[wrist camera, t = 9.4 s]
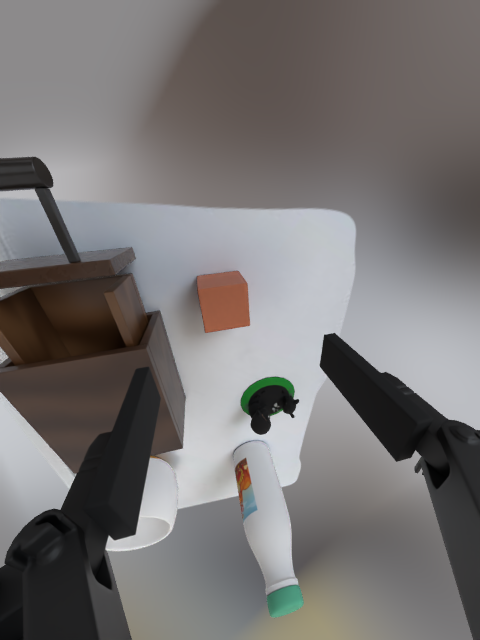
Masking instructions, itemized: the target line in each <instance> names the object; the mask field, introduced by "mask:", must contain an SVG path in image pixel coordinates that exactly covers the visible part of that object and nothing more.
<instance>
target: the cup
mask: <svg viewBox="0 0 480 640" xmlns="http://www.w3.org/2000/svg"><path fill="white" fill-rule="evenodd" d="M177 503H178V483H177V478H176V474H175V472H174V471H173V469H172V468H171V466H170V465H169V464H168V463H167V462H166V461H163V460H161V459H160V458H157V457H155V456H150V460H149V465H148V471H147V476H146V481H145V487H144V492H143V497H142V503H141V508H140V514H139V519H138V524H137V530H136V535H133V536H130V537H126V538H122V539H119V540H115V541H114V540H113V539H112V538H111V537H110V536H108V540H107V544H106V548H105V549H106V550H108V551H128V550H134V549H139V548H144V547H146V546H149V545H152V544H155V543H157V542H159V541H160V540H162V539H164V538H166V537H167V536H168V534H169V533H170V532H171V531H172V529H173V526H174V522H175V518H176V514H177Z"/></svg>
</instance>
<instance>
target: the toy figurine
mask: <svg viewBox="0 0 480 640" xmlns="http://www.w3.org/2000/svg"><path fill="white" fill-rule="evenodd" d="M294 392H295V391H294V387H293V385H292V384H291V382H290V381H288V380H286V379H284V378H279V377H270V378H265V379H262V380H259V381H257V382H256V383H254V384H252V385H251V386H250V387H249V388H248V389H247V390H246V391H245V392H244V394H243V396H242V398H241V406H242V409H243V411H244V412H246V413H247V414H248V415H250V416H251V418H252V420H251V428H252V429H253V431H254V432H255V433H257V434H260V435H262V434H266V433H267V432H268V431H269V429H270V427H271V422H270V416H272V415H274V414H277V413H279V412H280V411H282V410H283V412H284V413H287V414H290V415H291V417H292V418H294V415H293V414H292V413H293V412H294V410H295V408H296V404H298V403H299V399H297V400H294V399H293V397H294Z"/></svg>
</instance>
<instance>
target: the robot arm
mask: <svg viewBox="0 0 480 640" xmlns="http://www.w3.org/2000/svg"><path fill="white" fill-rule="evenodd" d="M320 367H321V369H322V370H323V371H324V372H325V374H326V375H327V376H328V377H329V378H330V380H331V381H332V382H333V383H334V385H335V386H336V387H337V388H338V390H339V391H340V392H341V393H342V395H343V396H344V397H345V398H346V399H347V401H348V402H349V403H350V405H351V406H352V407H353V408H354V410H355V411H356V412H357V413H358V415H359V416H360V417H361V418H362V420H363V421H364V422H365V423H366V424H367V426H368V427H369V428H370V429H371V431H372V432H373V433H374V434H375V436H376V437H377V438H378V439H379V441H380V442H381V443H382V444H383V446H384V447H385V448H386V449H387V451H388V452H389V453H390V454H391V455H392V457H393V458H394V459H395V461H396V462H397V461H401V460H404V459H408V458H411V457H412V455H413V453H414V451H415V450H416V451H417V452H418V453H419V454H420V455H421V456H422V457H421V458H420V460H419V461H418V463H417V464H416V466H415V473H418V472H419V471H420V469H421V468H422V470H423V473H422V475H424V477H425V480H426V483H427V487H428V490H429V493H430V497H431V500H432V503H433V507H434V510H435V513H436V517H437V520H438V523H439V527H440V530H441V533H442V537H443V540H444V543H445V547H446V550H447V554H448V557H449V560H450V564H451V567H452V570H453V574H454V577H455V580H456V583H457V587H458V590H459V594H460V597H461V600H462V604H463V607H464V610H465V614H466V617H467V620H468V624H469V627H470V630H471V633H472V637H473V640H480V430H475V429H474V428H472V427H470V426H468V425H466V424H465V423H462V422H459V421H455V420H448V419H447V418H445V417H444V416H443V415H442V414H440V413H439V412H438V411H437V410H436V409H434V408H433V407H432V406H431V405H430V404H428V403H427V402H426V401H425V400H423V399H422V398H421V397H420V396H419V395H417V394H416V393H414V391H412V390H411V389H410V388H409V387H407V386H406V385H405V384H404V383H403V382H402V381H400V380H399V379H398V378H396V377H394V376H393V375H391V374H389V373H387V372H384V373H380V372H379V371H377V370H376V369H375V368H374V367H373V366H372V365H371V364H369V363H368V362H367V361H366V360H365V359H364V358H363V357H362V356H360V355H359V354H358V353H357V352H356V351H355V350H353V349H352V348H351V347H350V346H349V345H348V344H347V343H345V342H344V341H343V340H342V339H341V338H340V337H339V336H337V335H336V334H335V333H333V334H327V335H324V340H323V347H322V354H321V361H320ZM160 401H161V397H160V394H159V391H158V389H157V386H156V383H155V381H154V378H153V375H152V373H151V370H150V368H149V367H143V368H137V369H136V370H135V372H134V375H133V377H132V380H131V383H130V385H129V388H128V390H127V393H126V396H125V398H124V401H123V403H122V406H121V409H120V411H119V414H118V416H117V419H116V422H115V424H114V427H113V430H112V431H111V432H106V433H101V434H99V435H98V436H97V437H96V439H95V440H94V441H93V442H92V444H91V445H90V446H89V448H88V450H87V453H86V455H85V457H84V461H83V462H82V464H81V466H80V468H79V472H78V473H77V475H76V477H75V479H74V481H73V483H72V486H71V488H70V490H69V492H68V494H67V497H66V499H65V501H64V503H63V505H62V508H61V510H58V509H51V510H48V511H45V512H43V513H41V514H40V515H38V516H36V517H35V518H34V519H32V520H31V521H30V522H29V523H28V524H27V525H26V526H25V527H24V528H23V529H22V530H21V531H20V533H19V534H18V535H17V536H16V537H15V539H14V540H13V542H12V544H11V546H10V548H9V550H8V551H7V555H6V559H5V564H6V565H4V566H3V567H1V568H0V640H132V638H131V635H130V631H129V628H128V624H127V621H126V617H125V613H124V610H123V606H122V602H121V599H120V595H119V592H118V588H117V585H116V581H115V577H114V574H113V570H112V566H111V563H110V559H109V556H108V553H107V551H106V549H105V548H106V544H107V540H108V536H110V537H111V538H112V539H113V540H114V541H115V540H119V539H122V538H126V537H130V536H133V535H136V530H137V524H138V519H139V514H140V508H141V503H142V497H143V492H144V487H145V481H146V476H147V471H148V465H149V460H150V455H151V449H152V444H153V439H154V433H155V428H156V423H157V417H158V412H159V406H160Z"/></svg>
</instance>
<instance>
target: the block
mask: <svg viewBox="0 0 480 640" xmlns="http://www.w3.org/2000/svg"><path fill="white" fill-rule="evenodd" d="M197 291H198V296H199V301H200V307H201V312H202V317H203V323H204V328H205V333H208V332H214V331H220V330H226V329H232V328H239V327H245V326H250V318H249V302H248V285H247V282H246V281H245V279H244V278H243V277H242V275H241V274H240V272H239V271H232V272H224V273H217V274H209V275H201V276H197Z"/></svg>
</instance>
